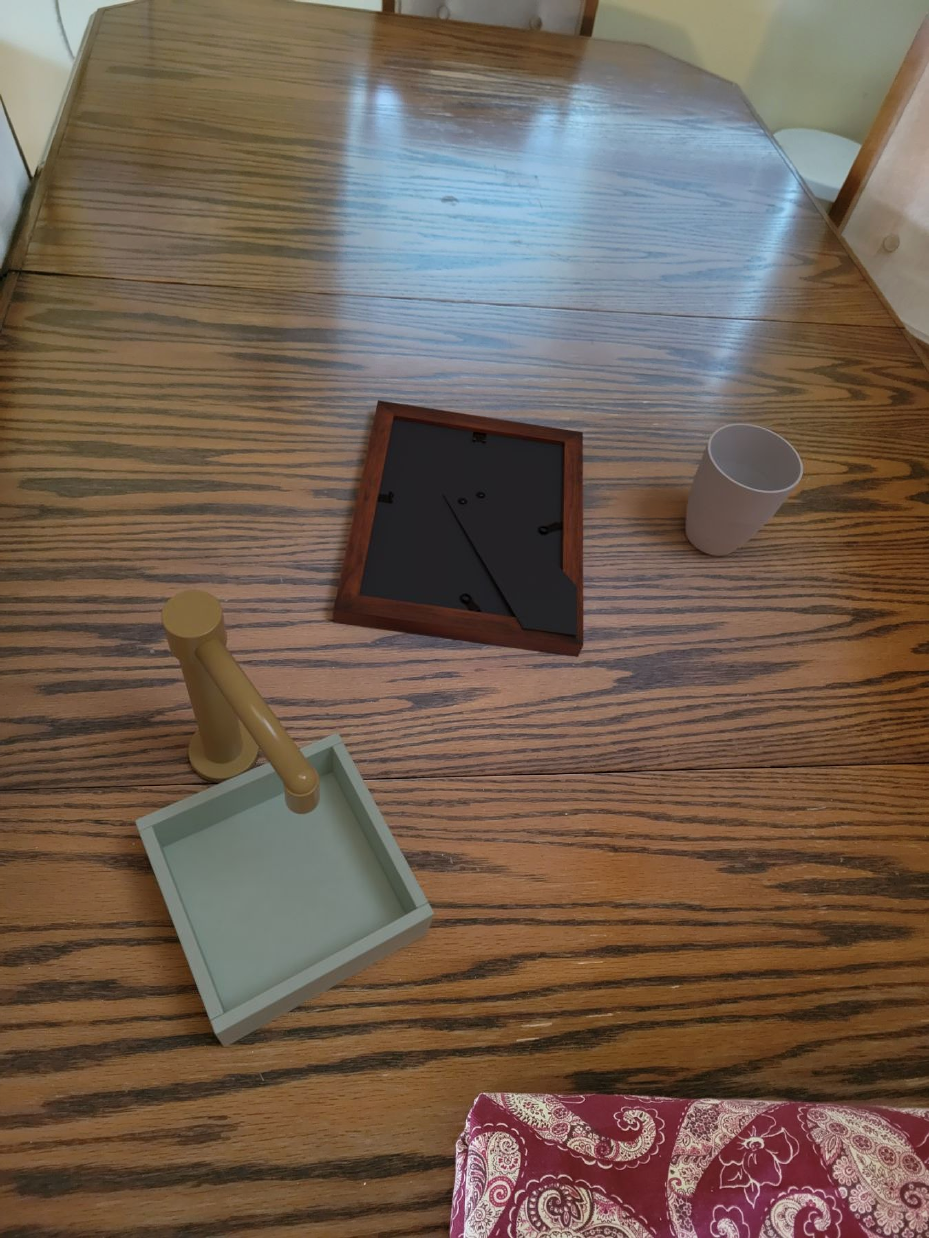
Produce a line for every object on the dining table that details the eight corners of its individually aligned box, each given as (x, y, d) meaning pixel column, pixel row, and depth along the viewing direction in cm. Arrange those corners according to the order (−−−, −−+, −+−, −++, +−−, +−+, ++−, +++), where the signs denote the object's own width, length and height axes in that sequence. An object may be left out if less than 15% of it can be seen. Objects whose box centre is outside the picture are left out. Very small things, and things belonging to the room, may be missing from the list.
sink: (427, 933, 54) (434, 913, 50) (224, 1047, 49) (215, 1034, 45) (337, 761, 60) (337, 731, 56) (147, 846, 55) (134, 819, 51)
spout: (162, 645, 48) (150, 605, 45) (212, 621, 50) (204, 580, 47) (285, 828, 43) (281, 797, 40) (337, 795, 45) (337, 763, 41)
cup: (766, 567, 76) (818, 491, 68) (684, 571, 75) (727, 494, 66) (736, 501, 81) (781, 422, 73) (658, 503, 79) (695, 423, 71)
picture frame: (578, 656, 68) (578, 445, 82) (584, 643, 66) (583, 430, 81) (333, 622, 67) (377, 414, 81) (333, 607, 65) (378, 398, 80)
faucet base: (238, 793, 58) (215, 692, 46) (176, 767, 58) (138, 661, 47) (271, 736, 60) (257, 627, 49) (211, 712, 61) (183, 599, 49)
